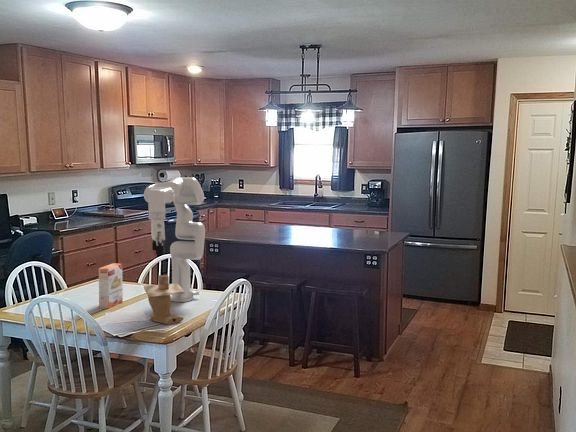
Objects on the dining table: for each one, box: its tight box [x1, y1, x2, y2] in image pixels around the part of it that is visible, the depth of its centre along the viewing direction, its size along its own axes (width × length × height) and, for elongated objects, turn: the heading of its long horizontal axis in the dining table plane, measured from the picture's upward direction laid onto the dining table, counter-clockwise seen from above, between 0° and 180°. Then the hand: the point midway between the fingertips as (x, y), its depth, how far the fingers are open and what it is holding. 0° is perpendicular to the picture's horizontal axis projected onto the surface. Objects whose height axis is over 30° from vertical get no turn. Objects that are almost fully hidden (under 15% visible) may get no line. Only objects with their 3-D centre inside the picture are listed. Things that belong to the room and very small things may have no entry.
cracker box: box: [98, 262, 124, 309], centre depth 270 cm, size 14×6×21 cm, turn 168°
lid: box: [143, 274, 184, 298], centre depth 244 cm, size 16×16×7 cm
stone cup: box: [147, 295, 184, 325], centre depth 245 cm, size 15×12×15 cm
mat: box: [104, 308, 148, 325], centre depth 252 cm, size 18×18×1 cm
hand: (157, 252), depth 245 cm, fingers open, 9 cm apart
